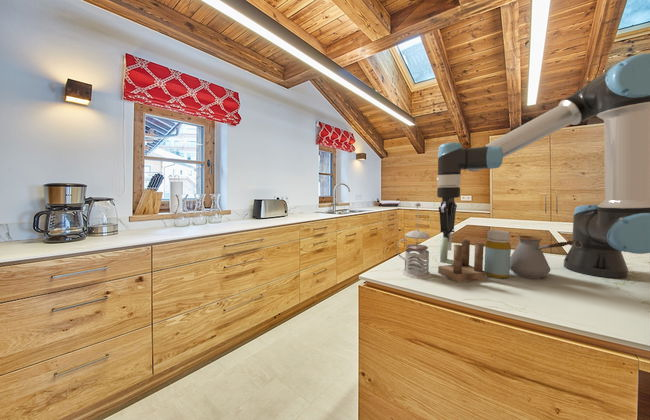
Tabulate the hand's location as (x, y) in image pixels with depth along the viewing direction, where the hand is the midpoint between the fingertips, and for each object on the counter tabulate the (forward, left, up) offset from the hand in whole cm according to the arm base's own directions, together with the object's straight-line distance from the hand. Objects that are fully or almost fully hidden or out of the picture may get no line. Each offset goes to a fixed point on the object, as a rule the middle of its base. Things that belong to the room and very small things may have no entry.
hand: (446, 249), depth 92 cm
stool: (+2, +10, -7) cm, 12 cm away
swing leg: (+2, +4, -4) cm, 6 cm away
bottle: (-10, +12, -7) cm, 17 cm away
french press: (+16, +4, -7) cm, 17 cm away
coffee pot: (-20, +18, -7) cm, 28 cm away
